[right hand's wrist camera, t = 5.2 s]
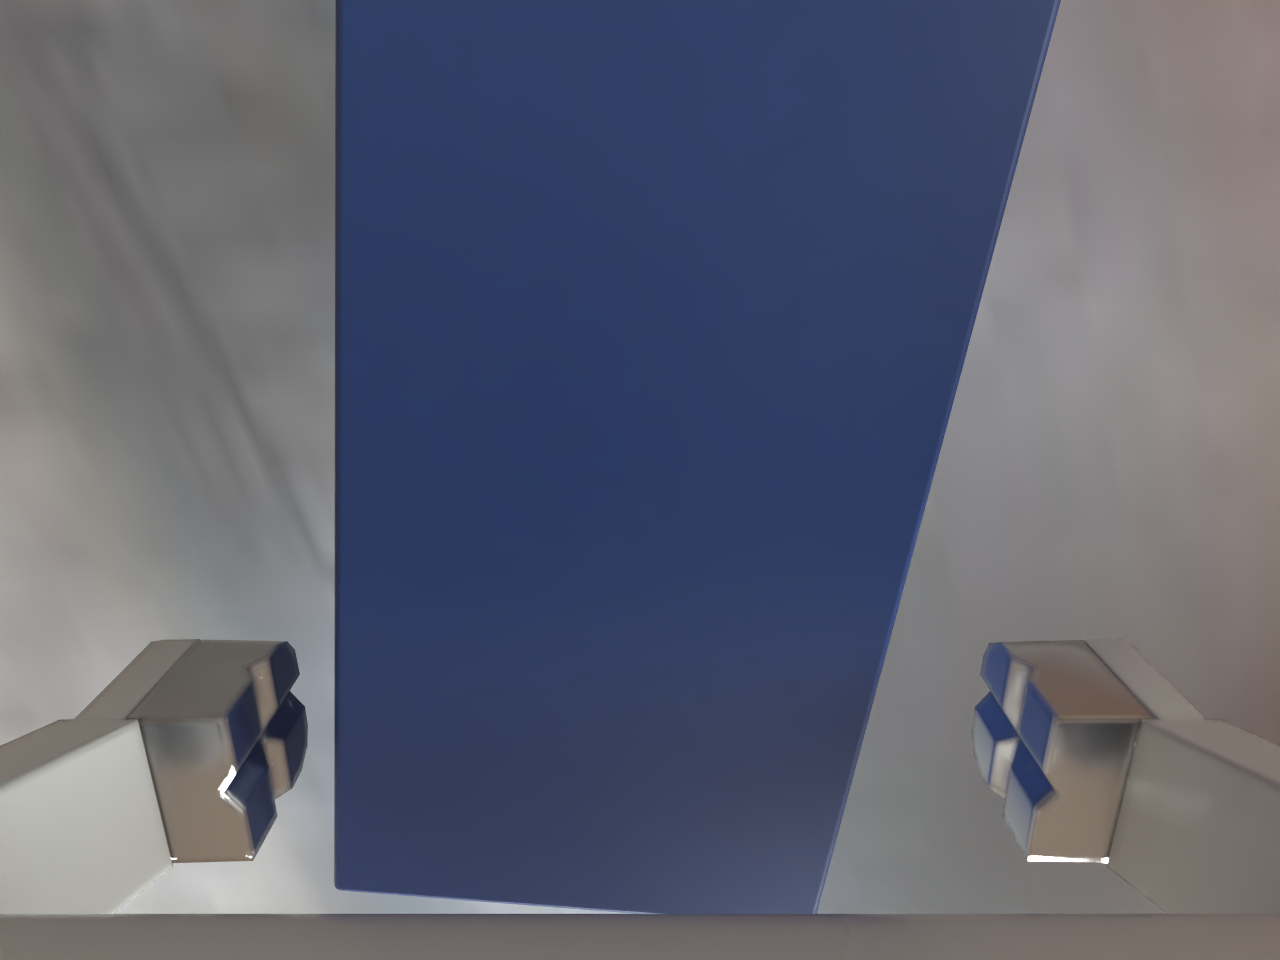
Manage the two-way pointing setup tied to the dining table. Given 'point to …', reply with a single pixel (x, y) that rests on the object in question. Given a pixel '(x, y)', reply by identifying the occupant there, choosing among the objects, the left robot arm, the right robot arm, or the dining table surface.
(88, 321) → the dining table surface
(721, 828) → the box
